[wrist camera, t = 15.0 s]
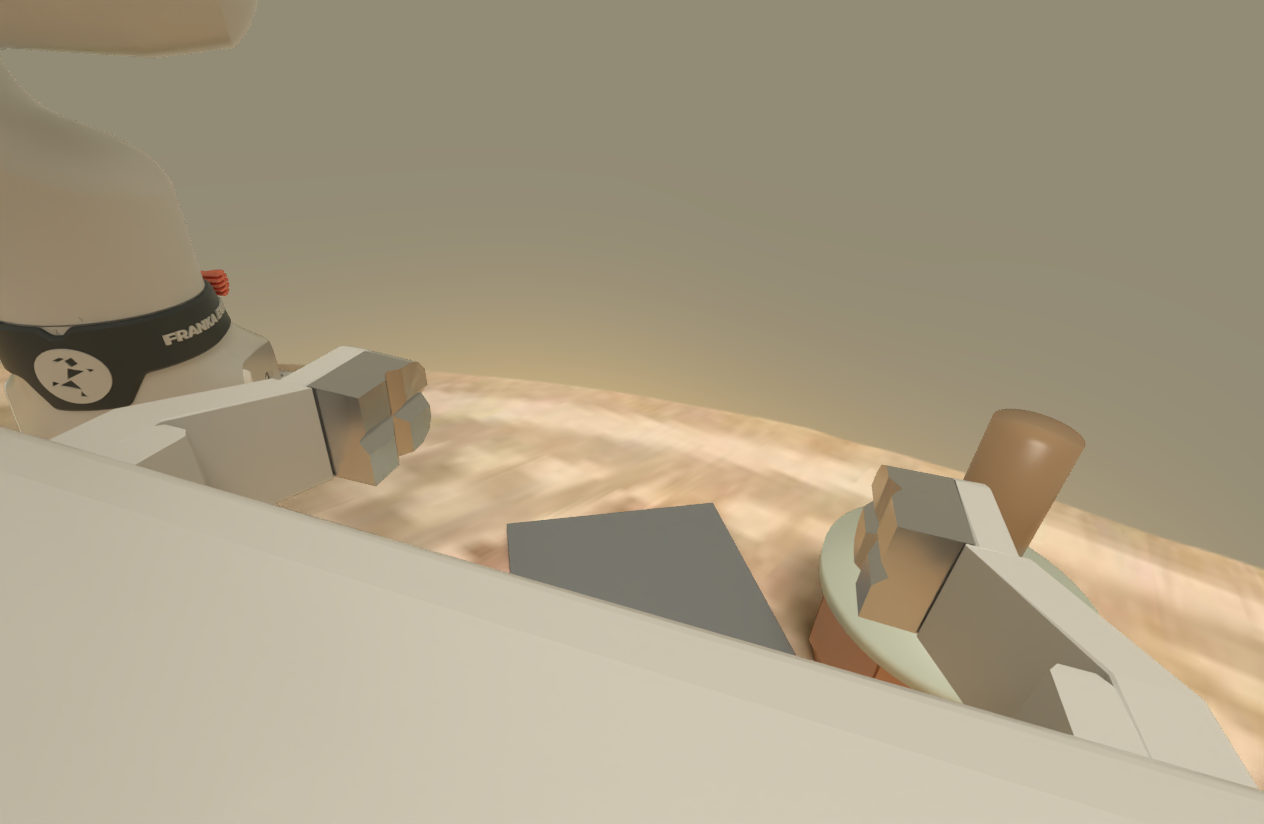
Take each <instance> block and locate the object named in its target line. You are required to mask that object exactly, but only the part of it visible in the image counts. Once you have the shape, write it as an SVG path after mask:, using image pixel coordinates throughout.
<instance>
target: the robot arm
mask: <svg viewBox="0 0 1264 824" xmlns="http://www.w3.org/2000/svg"><path fill="white" fill-rule="evenodd" d="M257 3H258V0H0V50H4V49H7V48H12V49H26V50H40V51H56V52H70V53H84V54H100V55H114V56H129V57H143V58H156V57H166V56H175V55H184V54H193V53H200V52H206V51H214V50H221V49H228V48H233V47H235V46H236V45H237V44H238V43H239V42H240V41H241V40H242V38H243V37H244V36H245V34H246V33H247V31H248V29H249V27H250V25H251V23H252V21H253V18H254V15H255V11H256V8H257ZM226 276H227V275H226V274H225V273H224V271H223V270H211V271H201V270H200V267H199V264H198V261H197V258H196V254H195V251H194V248H193V245H192V242H191V239H190V235H189V232H188V229H187V226H186V223H185V220H184V217H183V213H182V210H181V207H180V204H179V200H178V197H177V194H176V191H175V188H174V186H173V184H172V182H171V180H170V179H169V177H168V176H167V175H166V174H165V172H164V171H163V169H162V168H161V167H160V166H159V165H158V164H157V163H156V162H155V161H154V160H153V159H152V158H150V157H149V156H148V155H146V154H145V153H144V152H142V151H141V150H139V149H138V148H136V147H135V146H133V145H131V144H129V143H128V142H126V141H124V140H122V139H120V138H118V137H116V136H113V135H111V134H109V133H107V132H104V131H102V130H99V129H97V128H94V127H91V126H89V125H86V124H84V123H81V122H78V121H76V120H73V119H71V118H68V117H65V116H63V115H60V114H58V113H56V112H54V111H52V110H50V109H48V108H46V107H45V106H43V105H42V104H41V103H39V102H38V101H37V100H35V99H34V98H33V97H32V96H31V95H30V94H29V93H27V92H26V91H25V90H24V89H23V88H22V87H21V86H20V84H19V83H18V82H17V81H16V80H15V79H14V77H13V76H12V75H11V73H10V72H9V71H8V69H7V67H6V66H5V64H4V63H3V61H2V59H1V57H0V360H1V362H2V364H3V366H4V367H5V369H6V370H7V371H9V372H10V373H12V375H11V376H10V377H9V379H8V380H7V381H6V382H5V384H4V391H5V394H6V397H7V399H8V402H9V405H10V407H11V410H12V412H13V415H14V418H15V420H16V423H17V425H18V428H19V430H20V432H19V431H16V430H12V429H9V428H5V427H2V426H0V824H1264V791H1263V790H1260V789H1258V787H1257V785H1256V784H1255V782H1254V781H1253V779H1252V777H1251V776H1250V774H1249V772H1248V771H1247V769H1246V767H1245V766H1244V764H1243V763H1242V761H1241V759H1240V758H1239V756H1238V754H1237V753H1236V751H1235V749H1234V748H1233V746H1232V745H1231V743H1230V741H1229V740H1228V738H1227V736H1226V735H1225V733H1224V731H1223V730H1222V728H1221V727H1220V725H1219V723H1218V722H1217V720H1216V718H1215V717H1214V715H1213V713H1212V712H1211V710H1210V709H1209V707H1208V705H1207V704H1206V702H1205V701H1204V700H1203V699H1202V698H1201V697H1199V696H1198V695H1197V694H1196V693H1194V692H1193V691H1192V690H1191V689H1190V688H1188V687H1187V686H1186V685H1185V684H1183V683H1182V682H1181V681H1180V680H1178V679H1177V678H1176V677H1175V676H1174V675H1172V674H1171V673H1170V672H1169V671H1167V670H1166V669H1165V668H1164V667H1163V666H1161V665H1160V664H1159V663H1158V662H1156V661H1155V660H1154V659H1153V658H1151V657H1150V656H1149V655H1148V654H1147V653H1145V652H1144V651H1143V650H1142V649H1140V648H1139V647H1138V646H1137V645H1135V644H1134V643H1133V642H1132V641H1131V640H1129V639H1128V638H1127V637H1126V636H1124V635H1123V634H1122V633H1121V632H1119V631H1118V630H1117V629H1116V628H1115V627H1113V626H1112V625H1111V624H1110V623H1108V622H1107V621H1106V620H1105V619H1103V618H1102V617H1101V616H1100V615H1099V614H1097V613H1096V612H1095V611H1094V610H1092V609H1091V608H1090V607H1089V606H1087V605H1086V604H1085V603H1084V602H1083V601H1081V600H1080V599H1079V598H1078V597H1076V596H1075V595H1074V594H1073V593H1071V592H1070V591H1069V590H1068V589H1067V588H1065V587H1064V586H1063V585H1062V584H1060V583H1059V582H1058V581H1057V580H1055V579H1054V578H1053V577H1052V576H1051V575H1049V574H1048V573H1047V572H1046V571H1044V570H1043V569H1042V568H1041V567H1039V566H1038V565H1037V564H1036V563H1035V562H1033V561H1032V560H1031V559H1027V558H1023V557H1019V555H1018V552H1017V550H1016V548H1015V545H1014V543H1013V541H1012V538H1011V536H1010V534H1009V531H1008V529H1007V526H1006V524H1005V522H1004V519H1003V517H1002V515H1001V512H1000V510H999V508H998V505H997V503H996V501H995V498H994V496H993V493H992V491H991V489H990V488H989V487H988V486H987V485H985V484H981V483H976V482H970V481H965V480H959V479H954V478H948V477H943V476H938V475H933V474H928V473H923V472H917V471H912V470H907V469H902V468H897V467H892V466H887V465H881V467H880V468H879V470H878V472H877V474H876V476H875V479H874V481H873V483H872V492H873V501H872V502H871V503H869V504H867V505H866V506H864V507H863V510H862V512H861V515H860V518H859V521H858V524H857V529H856V534H855V538H854V563H855V564H856V565H857V567H858V568H859V569H860V570H861V571H860V574H859V576H858V579H857V581H856V596H857V608H858V617H861V618H865V619H868V620H872V621H875V622H878V623H882V624H885V625H888V626H892V627H895V628H899V629H902V630H905V631H909V632H912V633H915V634H917V636H916V637H917V638H918V639H919V641H920V642H921V644H922V645H923V647H924V648H925V649H926V651H927V652H928V654H929V655H930V657H931V658H932V659H933V661H934V662H935V664H936V665H937V667H938V668H939V670H940V671H941V672H942V674H943V675H944V677H945V678H946V680H947V681H948V682H949V684H950V685H951V687H952V688H953V690H954V691H955V692H956V694H957V695H958V697H959V698H960V700H961V701H962V703H963V704H962V703H958V702H955V701H951V700H948V699H944V698H941V697H937V696H934V695H931V694H927V693H924V692H920V691H917V690H913V689H910V688H906V687H903V686H899V685H896V684H892V683H889V682H885V681H882V680H878V679H875V678H871V677H867V676H864V675H861V674H857V673H854V672H850V671H847V670H843V669H840V668H836V667H833V666H829V665H826V664H823V663H819V662H816V661H812V660H809V659H805V658H802V657H798V656H795V655H791V654H788V653H784V652H781V651H778V650H774V649H771V648H767V647H764V646H760V645H757V644H753V643H750V642H746V641H743V640H740V639H736V638H733V637H729V636H726V635H722V634H719V633H715V632H712V631H708V630H705V629H701V628H698V627H695V626H691V625H688V624H684V623H681V622H677V621H674V620H670V619H667V618H663V617H660V616H657V615H653V614H650V613H646V612H643V611H639V610H636V609H632V608H629V607H625V606H622V605H619V604H615V603H612V602H608V601H605V600H601V599H598V598H594V597H591V596H587V595H584V594H580V593H577V592H573V591H570V590H566V589H563V588H560V587H556V586H553V585H549V584H546V583H542V582H539V581H535V580H532V579H528V578H525V577H521V576H518V575H514V574H511V573H507V572H504V571H500V570H497V569H493V568H490V567H486V566H483V565H479V564H476V563H472V562H469V561H465V560H462V559H459V558H455V557H452V556H448V555H445V554H441V553H438V552H434V551H431V550H427V549H424V548H420V547H417V546H414V545H410V544H407V543H403V542H400V541H396V540H393V539H389V538H386V537H382V536H379V535H376V534H372V533H369V532H365V531H362V530H358V529H355V528H351V527H348V526H344V525H341V524H337V523H334V522H331V521H327V520H324V519H320V518H317V517H313V516H310V515H306V514H303V513H299V512H296V511H292V510H289V509H286V508H282V507H279V506H275V505H273V504H276V503H278V502H280V501H283V500H285V499H287V498H290V497H292V496H294V495H296V494H299V493H301V492H303V491H306V490H308V489H310V488H313V487H315V486H317V485H320V484H322V483H324V482H326V481H329V480H331V479H333V478H334V476H335V477H339V478H344V479H348V480H352V481H356V482H360V483H365V484H369V485H373V486H377V485H378V484H379V483H380V482H381V481H382V480H383V479H384V478H385V477H386V476H388V475H389V474H390V473H391V472H392V471H393V470H394V469H395V468H396V467H397V466H398V465H399V456H401V455H404V454H407V453H410V452H413V451H415V450H416V449H417V448H418V447H419V446H420V445H421V444H422V443H423V441H424V439H425V437H426V435H427V433H428V431H429V428H430V421H431V412H430V405H429V403H428V402H427V401H426V399H425V398H424V396H423V395H422V394H421V393H422V391H423V390H424V388H425V387H426V386H427V380H426V374H425V369H424V368H423V367H422V366H421V365H420V363H419V362H415V361H412V360H408V359H403V358H399V357H395V356H391V355H387V354H383V353H378V352H374V351H370V350H367V349H362V348H357V347H352V346H340V347H338V348H336V349H335V350H333V351H331V352H329V353H327V354H326V355H324V356H322V357H320V358H318V359H317V360H315V361H313V362H311V363H309V364H307V365H306V366H304V367H302V368H300V369H298V370H297V371H295V372H290V371H282V370H279V368H278V364H277V361H276V358H275V354H274V351H273V349H272V346H271V344H270V342H269V341H268V340H267V339H266V338H264V337H263V336H261V335H258V334H256V333H253V332H251V331H249V330H246V329H244V328H242V327H240V326H238V325H235V324H234V323H232V322H231V320H230V317H229V316H228V314H227V312H226V310H225V306H224V303H223V301H222V300H221V298H220V297H218V296H217V295H222V296H226V295H227V294H228V292H229V289H228V287H229V283H227V282H228V278H226Z"/></svg>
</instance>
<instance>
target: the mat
mask: <svg viewBox="0 0 1264 824" xmlns="http://www.w3.org/2000/svg"><path fill="white" fill-rule="evenodd" d="M507 534H508V547H509V560H510V573H511V574H514V575H518V576H521V577H525V578H528V579H532V580H535V581H539V582H542V583H546V584H549V585H553V586H556V587H560V588H563V589H566V590H570V591H573V592H577V593H580V594H584V595H587V596H591V597H594V598H598V599H601V600H605V601H608V602H612V603H615V604H619V605H622V606H625V607H629V608H632V609H636V610H639V611H643V612H646V613H650V614H653V615H657V616H660V617H663V618H667V619H670V620H674V621H677V622H681V623H684V624H688V625H691V626H695V627H698V628H701V629H705V630H708V631H712V632H715V633H719V634H722V635H726V636H729V637H733V638H736V639H740V640H743V641H746V642H750V643H753V644H757V645H760V646H764V647H767V648H771V649H774V650H778V651H781V652H784V653H788V654H791V655H795V656H796V654H795V653H794V651H793V649H792V647H791V645H790V643H789V642H788V640H787V638H786V636H785V634H784V632H783V631H782V629H781V627H780V625H779V623H778V621H777V620H776V618H775V616H774V614H773V612H772V611H771V609H770V607H769V605H768V603H767V601H766V600H765V598H764V596H763V594H762V592H761V590H760V589H759V587H758V585H757V583H756V581H755V579H754V578H753V576H752V574H751V572H750V570H749V568H748V567H747V565H746V563H745V561H744V559H743V557H742V556H741V554H740V552H739V550H738V548H737V546H736V545H735V543H734V541H733V539H732V537H731V535H730V534H729V532H728V530H727V528H726V526H725V524H724V523H723V521H722V519H721V517H720V515H719V513H718V512H717V510H716V508H715V506H714V504H713V503H705V504H696V505H686V506H676V507H666V508H657V509H647V510H637V511H627V512H618V513H608V514H598V515H589V516H579V517H569V518H559V519H550V520H540V521H530V522H520V523H511V524H507Z"/></svg>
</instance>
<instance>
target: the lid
mask: <svg viewBox="0 0 1264 824" xmlns="http://www.w3.org/2000/svg"><path fill="white" fill-rule="evenodd" d="M1084 447H1085V440H1084V439H1083V437H1082V436H1081V435H1080V434H1079V433H1078V432H1076V431H1075V430H1074V429H1072V428H1071V427H1069V426H1067V425H1066V424H1064V423H1062V422H1060V421H1058V420H1056V419H1053V418H1051V417H1048V416H1045V415H1042V414H1039V413H1035V412H1031V411H1026V410H1020V409H1002V410H998V411H996V412H995V413H994V414H993V416H992V418H991V420H990V423H989V425H988V427H987V429H986V431H985V433H984V436H983V438H982V440H981V442H980V444H979V447H978V449H977V451H976V453H975V456H974V458H973V460H972V462H971V464H970V467H969V469H968V471H967V473H966V475H965V477H964V479H963V480H965V481H970V482H976V483H981V484H985V485H987V486H988V487H989V488H990V489H991V491H992V493H993V496H994V498H995V501H996V503H997V505H998V508H999V510H1000V512H1001V515H1002V517H1003V519H1004V522H1005V524H1006V526H1007V529H1008V531H1009V534H1010V536H1011V538H1012V541H1013V543H1014V545H1015V548H1016V550H1017V552H1018V555H1019V557H1023V558H1027V559H1031V560H1032V561H1033V562H1035V563H1036V564H1037V565H1038V566H1039V567H1041V568H1042V569H1043V570H1044V571H1046V572H1047V573H1048V574H1049V575H1051V576H1052V577H1053V578H1054V579H1055V580H1057V581H1058V582H1059V583H1060V584H1062V585H1063V586H1064V587H1065V588H1067V589H1068V590H1069V591H1070V592H1071V593H1073V594H1074V595H1075V596H1076V597H1078V598H1079V599H1080V600H1081V601H1083V602H1084V603H1085V604H1086V605H1087V606H1089V607H1090V608H1091V609H1092V610H1094V611H1095V612H1096V613H1097V614H1099V613H1098V611H1097V610H1096V609H1095V607H1094V606H1093V605H1092V603H1091V602H1090V601H1089V599H1088V598H1087V597H1086V596H1085V594H1084V593H1083V592H1082V591H1081V590H1080V589H1079V588H1078V587H1077V586H1076V585H1075V584H1074V583H1073V582H1072V581H1071V580H1070V579H1069V578H1068V577H1067V576H1066V575H1065V574H1064V573H1063V572H1062V571H1060V570H1059V569H1058V568H1057V567H1055V566H1054V565H1053V564H1052V563H1051V562H1049V561H1048V560H1047V559H1045V558H1044V557H1043V556H1041V555H1040V554H1038V553H1037V552H1035V551H1034V550H1033V549H1031V548H1029V547H1028V546H1029V544H1030V542H1031V541H1032V539H1033V537H1034V535H1035V534H1036V532H1037V530H1038V528H1039V527H1040V525H1041V523H1042V521H1043V519H1044V518H1045V516H1046V514H1047V512H1048V511H1049V509H1050V507H1051V505H1052V504H1053V502H1054V500H1055V498H1056V497H1057V495H1058V493H1059V491H1060V490H1061V488H1062V486H1063V484H1064V483H1065V481H1066V479H1067V477H1068V476H1069V474H1070V472H1071V470H1072V469H1073V467H1074V465H1075V463H1076V461H1077V460H1078V458H1079V456H1080V455H1081V453H1082V451H1083V449H1084ZM862 510H863V507H860V508H857V509H855V510H852V511H850V512H848V513H846V514H845V515H843V516H842V517H840V518H839V519H838V520H837V521H836V522H835V523H834V524H833V525H832V526H831V528H830V530H829V531H828V533H827V535H826V538H825V541H824V544H823V547H822V550H821V553H820V556H819V564H818V571H819V580H820V584H821V588H822V592H823V594H824V596H825V599H826V601H827V604H828V606H829V607H830V609H831V611H832V613H833V614H834V616H835V618H836V620H837V621H838V622H839V624H840V625H841V626H842V628H843V629H844V630H845V632H846V633H847V634H848V635H849V637H850V638H851V639H852V640H853V641H854V642H855V643H856V644H857V645H858V647H859V648H860V649H861V650H862V651H864V652H865V653H866V654H867V655H868V656H869V657H870V658H871V659H872V660H873V661H874V662H875V663H877V664H878V665H879V666H880V667H882V668H883V669H884V670H886V671H887V672H888V673H889V674H891V675H892V676H893V677H895V678H896V679H898V680H899V681H901V682H902V683H904V684H905V685H907V686H908V687H910V688H911V689H913V690H917V691H920V692H924V693H927V694H931V695H934V696H937V697H941V698H944V699H948V700H951V701H955V702H958V703H962V701H961V700H960V698H959V697H958V695H957V694H956V692H955V691H954V690H953V688H952V687H951V685H950V684H949V682H948V681H947V680H946V678H945V677H944V675H943V674H942V672H941V671H940V670H939V668H938V667H937V665H936V664H935V662H934V661H933V659H932V658H931V657H930V655H929V654H928V652H927V651H926V649H925V648H924V647H923V645H922V644H921V642H920V641H919V639H918V638H917V637H916V636H917V634H915V633H912V632H909V631H905V630H902V629H899V628H895V627H892V626H888V625H885V624H882V623H878V622H875V621H872V620H868V619H865V618H861V617H858V608H857V596H856V581H857V579H858V576H859V574H860V571H861V570H860V569H859V568H858V567H857V565H856V564H855V563H854V538H855V534H856V529H857V524H858V521H859V518H860V515H861V512H862ZM962 704H963V703H962Z"/></svg>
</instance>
